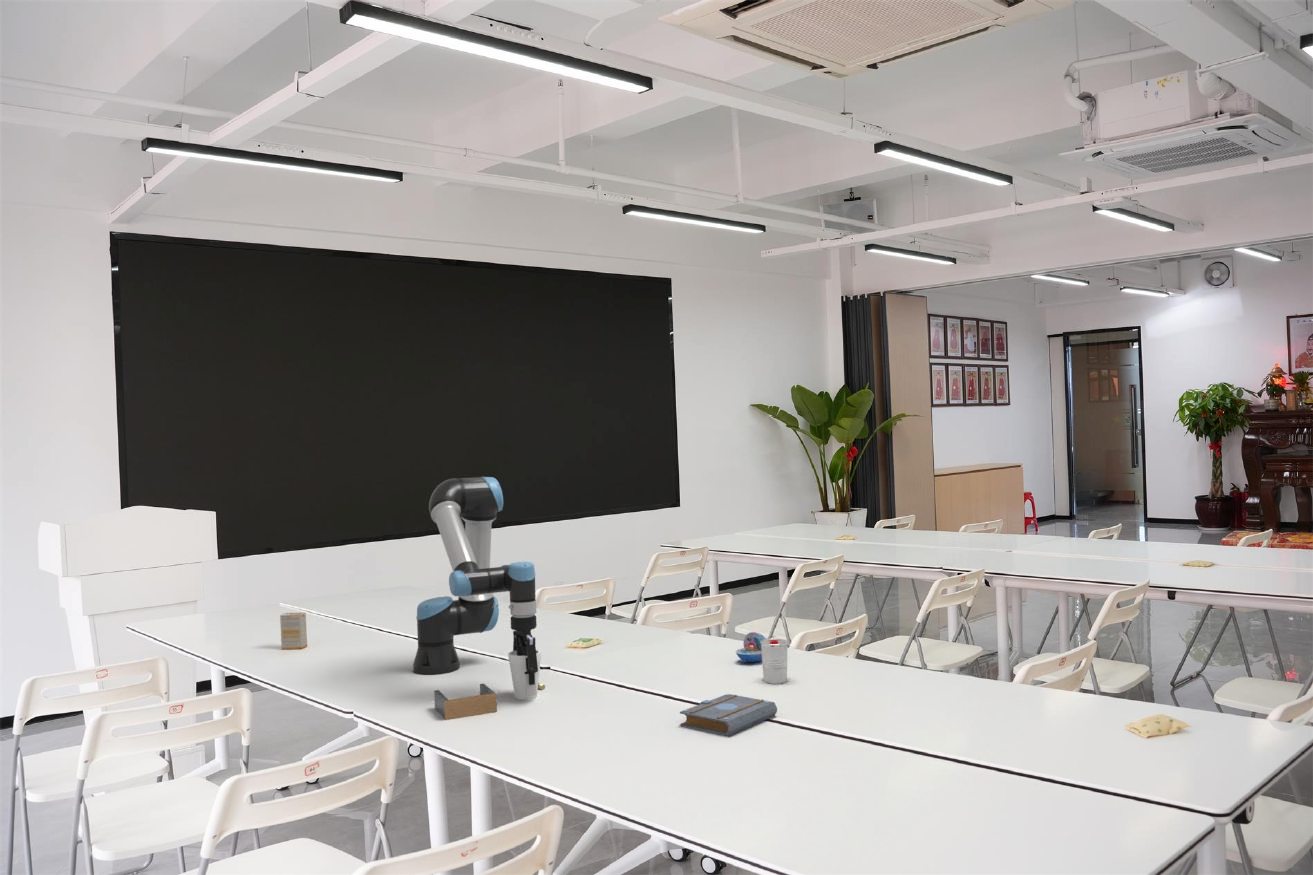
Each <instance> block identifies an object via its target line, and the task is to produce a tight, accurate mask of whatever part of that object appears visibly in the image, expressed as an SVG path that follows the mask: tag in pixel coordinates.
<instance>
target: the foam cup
mask: <svg viewBox="0 0 1313 875" xmlns="http://www.w3.org/2000/svg"><path fill="white" fill-rule="evenodd" d="M507 656H508V663H509V667H510V673H511V674H510V675H511V681H512V686H513V692H514V697H515V699H516V700H519V701H520V700H522V701H527V700H533V699H536V698H537V697H538V690H539V689H538V683H539V681H540V680H539V679H540V666H541V661H542V652H541V650H539V649H536V656H537V665H538V672H536V673H535V677H536V695H533V696H526V674H525V672H527V670H526V665H525V664H526V658H527V656H524V655H523V656H517V651H516V650H515V651H513V650H512V651H510V652H508V655H507ZM525 657H526V658H525Z"/></svg>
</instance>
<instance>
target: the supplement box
mask: <svg viewBox="0 0 1313 875" xmlns="http://www.w3.org/2000/svg"><path fill="white" fill-rule="evenodd" d="M306 614H307V613H306V612H285V613H282V614H280V615H279V618H280V620H279V622H280V642H281V643H280V644H281V650H303V649H305V648H307V647H308V637H307V636H308V635H307V615H306Z"/></svg>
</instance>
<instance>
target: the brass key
mask: <svg viewBox="0 0 1313 875" xmlns="http://www.w3.org/2000/svg"><path fill="white" fill-rule="evenodd" d="M545 688H546V685H545V684H543V683H539V682H538V690H541V691H543V690H545Z"/></svg>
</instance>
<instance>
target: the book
mask: <svg viewBox="0 0 1313 875" xmlns="http://www.w3.org/2000/svg"><path fill="white" fill-rule="evenodd" d="M777 713H778V707H777V705H776V703H775V702H774V701H770V700H769V701H768V700H765V699H759V698H753V697H749V696H748V697H747V696H743V695H737V694H730V693H726V694H723V695H721V696H718V697H715V698H713V699H711V700H709V699H705V700H702V701H701V702H700V704H697V705H693V706H692V707H689V708H686V709H683V710H681V711H679V714H681V715H685V716H686V720H685V721H683V722H681V723H679V726H680V727H683V728H684V727H685V728H688V729H693V730H697V731H701V732H706V733H710V734H711V733H712V734H716V735H720V736H724V737H729V736H732V735H734V734H736V733H738V732H740V731H743V730H746V729H748V728H750V727H752V726H755V725H757V724H759V723H762V722H764V721H766V720H767V721H768V720H769V719H771V718H773V717H775V716H776V714H777Z"/></svg>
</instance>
